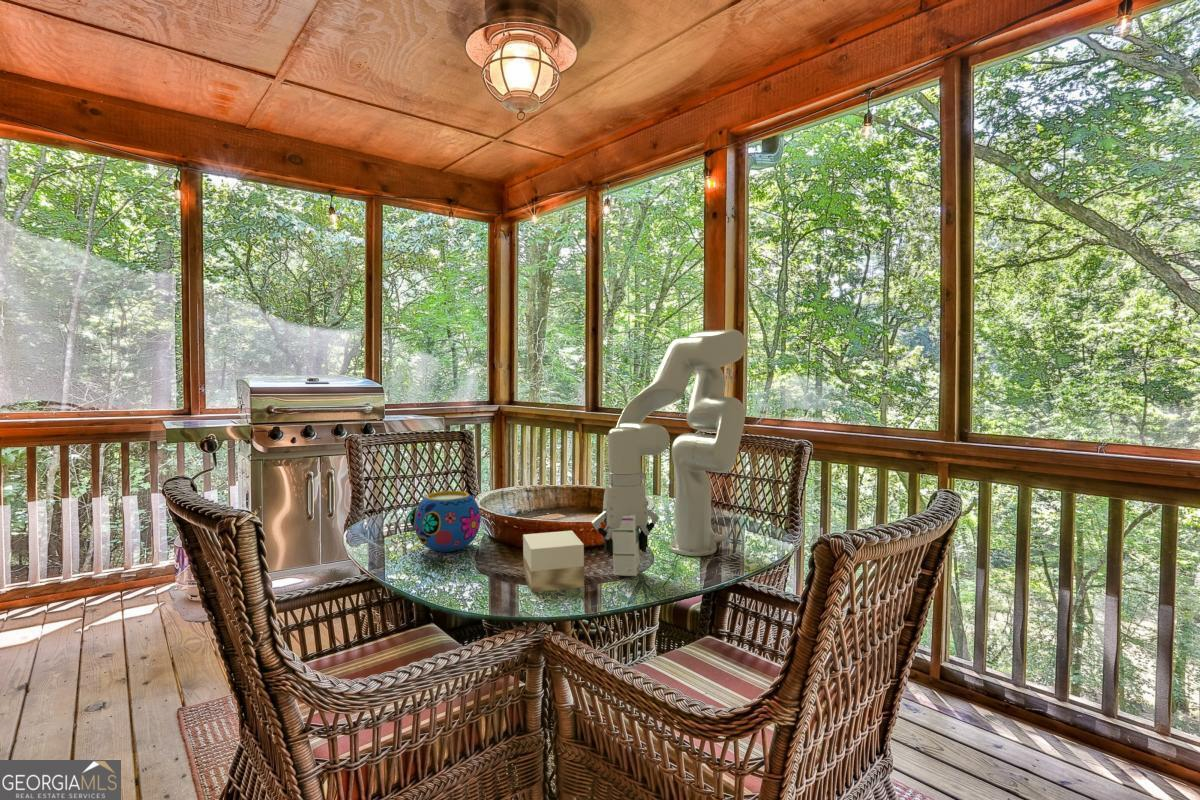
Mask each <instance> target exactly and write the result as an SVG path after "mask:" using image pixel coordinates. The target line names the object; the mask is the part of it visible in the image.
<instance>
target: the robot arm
mask: <svg viewBox="0 0 1200 800" xmlns="http://www.w3.org/2000/svg"><path fill="white" fill-rule="evenodd" d="M746 348H747V341H746V337H745V336H744V335H743V333H742V332H741V331H740V330H738V329H715V330H713V329H711V330H700V331H695V332H692V333H691V334H689V335H688V336H683V337H678V338H674V339H673V340H672V341H671V342H670V343H669V345H668V346H667V349H666V351H665V353H664V355H663V357H662V360H661V362H660V364H659V366H658V369H657V371H656V373H655V375H654V378H653V379H652V381H651V383H650V384H649V385H647V386H646V387H645V388H643V390H641V391H640V392H638V394H637V395H635V396H634V397H633V398H632V399H631V400H630V401H629V402H628V403H627V404H626V406H625V407H624V408H623V409H622V412H621V414H620V416H619V418H618V420H617V423H616V426H615V427H613V428H611V429H609V431H608V434H607V435H608V436H607V437H608V439H607V440H608V484H606V485H605V487H604V493H603V501H602V503H603V504H602V512H601V513H600V514H599V515H597V516H596V517H595V518H594V519H593V520H592V521H591V525H592V526H593V527H594V528H595V530H596V531H597V532H598V533H599V534H600V535H601V536H602V537H603V539H604V541H603V543H604V544H603V545H604V547H603V548H604V552H606V554H607V555H608V556H609V557H613V540H612V534H613V529H617V528H619V527H620V524H621V520H622V517H623V516H624V515H630V514H635V515H636V524H637V527H639V544H640V552H642V553H647V548H648V544H649V542H648V540H649V539H648V536H649V535H650V533H651V531H652V530H653V529H654V528H655V526H656V525H657V524H656V523H657V522H658V521H659V519H660V515H657V514H656V513H654V512H653V511H651V510H650V509H648V504H647V503H648V501H647V495H646V489H645V485H644V484H643V483H642V482H643V480H644V479H647V478H648V477H647V473H645V472H642V470H641V469H642V466H641V465H642V463H641V462H642V460H641V457H642V456H658V455H661V454H662V453H664V452H665V451H666V450H667V449H668V447H669V446H670V442H671V441H670V439H671V437H670V434H669V433H670V432H669V431H668V430H667V429H666V428H665V427H664V426H662V425H660V424H656V423H655V424H654V423H646V422H644V420H645V419H646V418H648V416H649V415H651V414H652V413H653V412H655V411H657V410H659V409H661V408H666V407H667V406H670V405H671V404H674V403H676V402H678V401H680V400H681V399H682V398H683V396H684V394H685V391H686V389H687V387H688V385H689V382H690V379H691V377H692V375H693V374H694V382H693V388H692V391H691V395H690V398H689V399H690V400H689V402H688V403H689V404H688V406H687V410H686V423H687V425H688V426H689V427H690V428H692V429H694V430H698V431H704V432H714V433H715V432H716V435H714V434H712V435H711V434H707V433H705V434H704V433H695V432H694V433H693V432H688V433H682V434H679V435H678V436H677V437H676V438H675V439H674V440H673V442H672V446H671V456H672V462H673V467H674V479H675V492H674V493H675V506H674V507H675V512H674V513H675V519H674V520H675V522H674V523H675V524H674V525H675V527H674V528H675V529H674V532H675V535H674V536H675V538H674V539H675V540H672V541H671V542H670V543H669V550H670V551H671V552H673V553H675V554H678V555H681V556H687V557H705V556H710V555H714V554H715V553H716V552H717V545H716V544H717V543H718V542H728V535H727V533H723V534H719V532H716V533H715V532H714V533H713V532H712V483H711V480H710V478H709V476H708V473H707V472H710V473H711V472H713V473H720V474H726V473H728V472H730V471H731V470H732V469H733V467H734V466H735V464H736V460H737V457H738V453H739V449H740V445H741V439H742V436H743V433H744V432H743V431H744V427H745V422H746V412H745V406H744V405H743V403H742V402H741V400H739V399H738V398H736V397H733V396H724V393H725V390H726V389H725V388H726V378H725V377H726V376H725V374H724V372H723V370H722V369H721V368H722V367H724V366H727V365H730V364H731V365H732V364H734V363H735V362H739V360H740V359H741V358H742V357H743V356H744V354H745V352H746ZM648 517H650V520H649V521H648ZM602 522H603V523H604V524H605V525H606V526H605V528H602V526H601V523H602Z"/></svg>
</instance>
